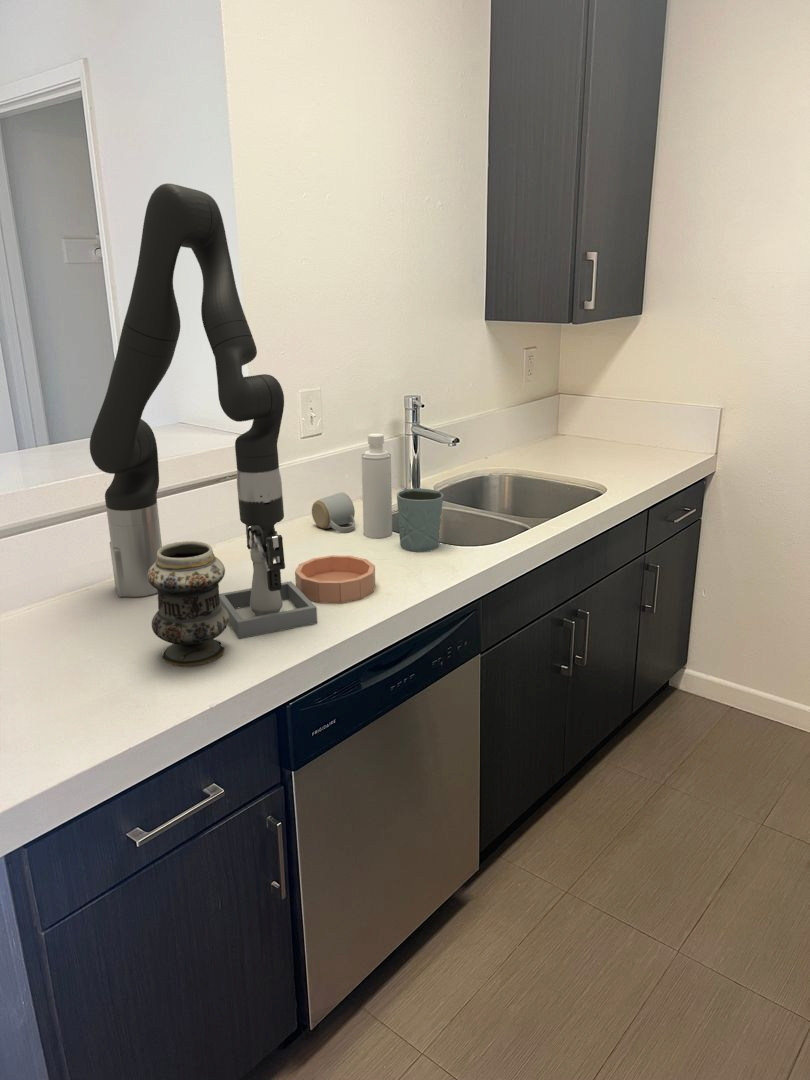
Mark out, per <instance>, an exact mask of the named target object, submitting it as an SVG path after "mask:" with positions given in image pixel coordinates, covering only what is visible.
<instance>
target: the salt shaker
mask: <svg viewBox="0 0 810 1080" xmlns="http://www.w3.org/2000/svg"><path fill="white" fill-rule="evenodd" d="M265 553H268V552H265ZM250 559H251V561H252V563H253V562H254V570H253V573H252V581H251V587H250V588H251V597H250V606H249V607H250V610H251V611H252V613H253V614H254V617H256V616H261V615H266V614H272V613H277V612H281V610H282V608H283V600H282V599H281V595H280V591H279V590H277V591H270V590H269V589H268V581H267V570H266V565H265V562H264V560H262V559H261V558H260V554H259V550H258V547H254V548H253V549H252V550H251V554H250ZM274 561H276V560H275V558H273V562H274Z"/></svg>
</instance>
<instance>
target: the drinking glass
mask: <svg viewBox="0 0 810 1080" xmlns="http://www.w3.org/2000/svg"><path fill="white" fill-rule="evenodd" d="M396 500H397V501H396V502H397V503H396V504H397V513H398V527H399V546H400V548H401V549H402V550H404V551H407V552H412V553H425V552H431V550H432V551H434V550H437V548H439V544H440V543H439V541H440V530H441V521H442V520H441V519H442V518H441V515H442V511H443V501H444V494H443V492H442V491H439V490H436V489H431V488H408V489H403V490H400V491H398V492H397V493H396Z"/></svg>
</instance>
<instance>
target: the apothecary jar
mask: <svg viewBox="0 0 810 1080" xmlns="http://www.w3.org/2000/svg"><path fill="white" fill-rule="evenodd" d="M225 574H226V567H225V564H224V563H223V561H221V560H220V558H218V557H217V556H215V554H214V551H213V548H212V546H211V545H210V544H208V543H206V542H203V541H198V540H197V541H196V540H195V541H193V540H189V541H188V540H187V541H186V540H185V541H176V542H172V543H168V544H165V545H162V547H161V548H160V549H159V550H158V551H157V560H156V562H155V563H154V564H153V565H152V566H151V567H150V569H149V571H148V580H149V583H150V584H151V585H152V586H153V587H154V588H156V589H157V593H156V594H157V603H158V604H157V605H158V609H157V612H156V613H155V614H154V615H153V616H152V619H151V630H152V632H153V634H154V635H155V636H156V637H157V638H159V639H160V640H162V641H164V642H166V643H170V644H171V645H169V646H167V647H166V648H165V649H164V650H163V652H162V659H163V661H164V662H165V663H167V664H169V665H172V666H174V667H184V668H185V667H196V666H198V667H199V666H203V665H207V664H209V663H213V662H214V661H217V660H218V659H220V658H221V657H222V656H223V655H224V654H225V650H226V648H225V647H224V646H223V644H222V642H221V641H219V640H217V639H215V638H217V637H219V636H220V635H221V634H223V632H224V631H225V630H226V629H227V627H228V626H229V623H228V622H229V615H228V612H227V611H226V609H225V608H224V607H222V606H221V605H220V599H219V594H220V589H219V588H220V587H219V583H221V582H222V580H223V579H224V578H225Z"/></svg>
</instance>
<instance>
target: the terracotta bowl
mask: <svg viewBox="0 0 810 1080" xmlns="http://www.w3.org/2000/svg"><path fill="white" fill-rule="evenodd" d="M294 576H295V577H294V579H295V586H296V587H297V588H298V589H299V590H300V591H301V592H302V593H303V594H304V595H305V596H306V597H307V598H308V599H309V600H310V601H311V600H312V601H311V602H315V601H316V603H320V604H321V603H323V604H326V603H327V604H343V603H342V602H344V603H348V602H347V601H349V602H352V601H351V600H354V601H359V600H362V599H363V598H365V597H367V596H369V595H371V594H374V590H375V588H376V565H375V564H374V563H372V562H371V561H369V560H368V559H366V558H362V557H358V556H354V555H334V554H333V555H325V556H320V557H313V558H311V559H308V560H305V561H304V562H303V561H302V562H301V563H299V564H298V566H297V567H296V569H295V570H294ZM358 599H359V600H358ZM340 602H341V603H340Z"/></svg>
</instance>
